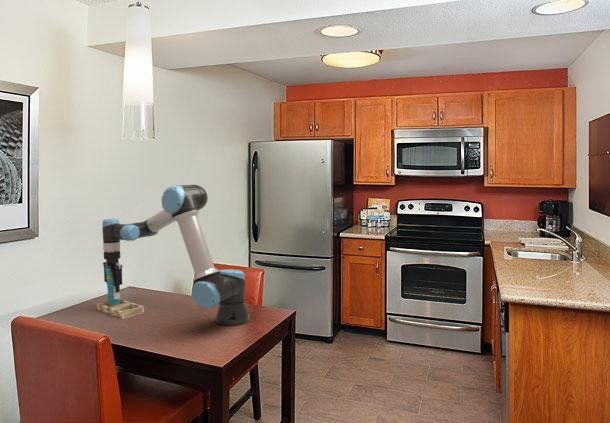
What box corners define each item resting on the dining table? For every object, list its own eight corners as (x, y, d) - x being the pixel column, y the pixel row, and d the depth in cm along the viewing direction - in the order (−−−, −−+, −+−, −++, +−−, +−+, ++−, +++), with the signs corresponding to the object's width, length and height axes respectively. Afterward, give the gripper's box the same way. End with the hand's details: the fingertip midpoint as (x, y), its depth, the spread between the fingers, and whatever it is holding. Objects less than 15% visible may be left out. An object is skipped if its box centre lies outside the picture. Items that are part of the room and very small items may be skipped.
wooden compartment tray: (144, 312, 224) (144, 306, 224) (122, 318, 215) (121, 312, 215) (119, 304, 237) (118, 298, 237) (97, 309, 228) (97, 303, 228)
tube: (108, 306, 225) (106, 267, 223) (104, 304, 228) (103, 265, 227) (123, 303, 230) (122, 265, 228) (119, 301, 234) (118, 263, 232)
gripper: (129, 251, 224) (131, 299, 226) (109, 247, 235) (111, 293, 237) (114, 253, 218) (116, 302, 221) (95, 249, 229) (97, 296, 231)
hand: (113, 297), depth 229 cm, fingers closed on tube, 5 cm apart
